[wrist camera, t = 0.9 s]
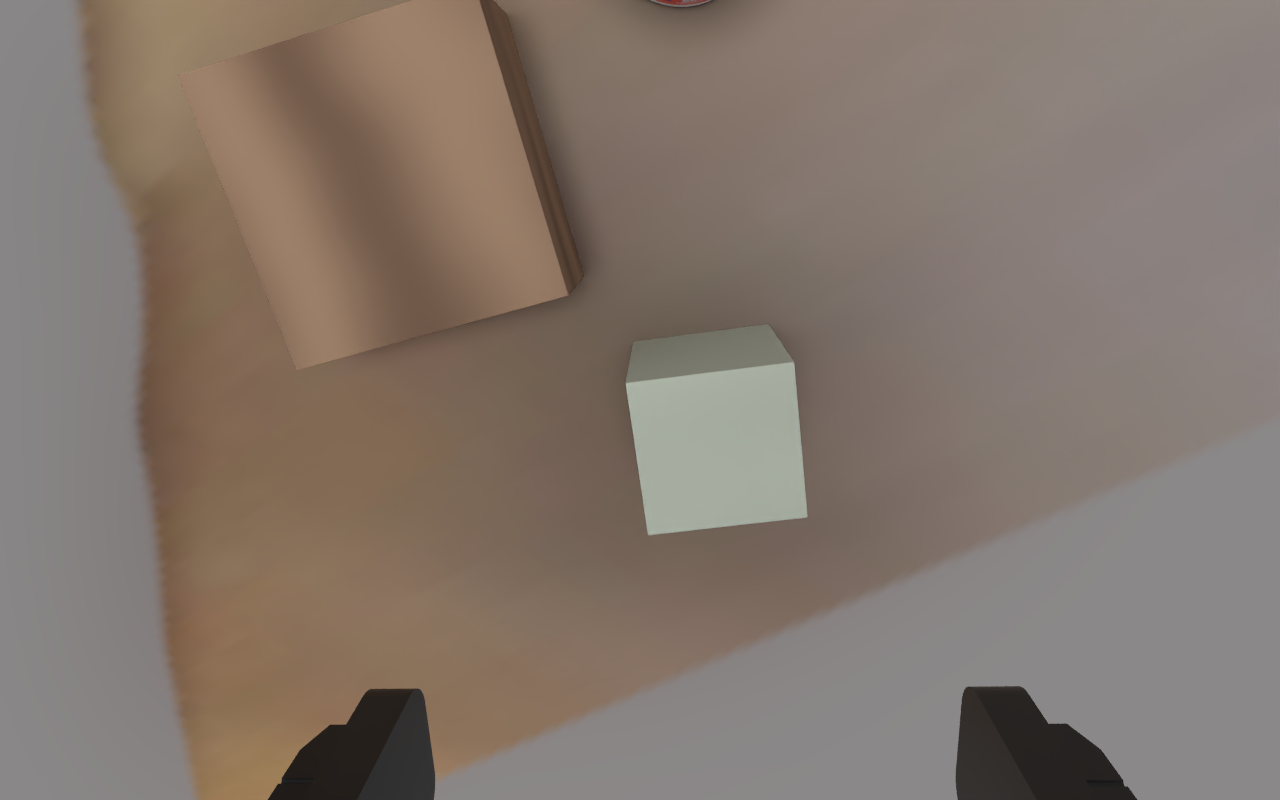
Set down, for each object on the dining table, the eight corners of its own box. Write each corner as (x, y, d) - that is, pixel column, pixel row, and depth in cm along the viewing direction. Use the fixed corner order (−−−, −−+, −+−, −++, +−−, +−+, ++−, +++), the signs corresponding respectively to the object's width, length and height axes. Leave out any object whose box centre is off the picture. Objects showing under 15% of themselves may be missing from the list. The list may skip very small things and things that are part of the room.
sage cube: (768, 323, 29) (794, 361, 23) (780, 451, 30) (807, 517, 25) (633, 341, 29) (625, 383, 24) (651, 466, 31) (647, 535, 25)
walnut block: (508, 15, 27) (473, -20, 22) (584, 275, 29) (568, 295, 24) (262, 92, 27) (177, 75, 23) (355, 338, 30) (296, 370, 25)
